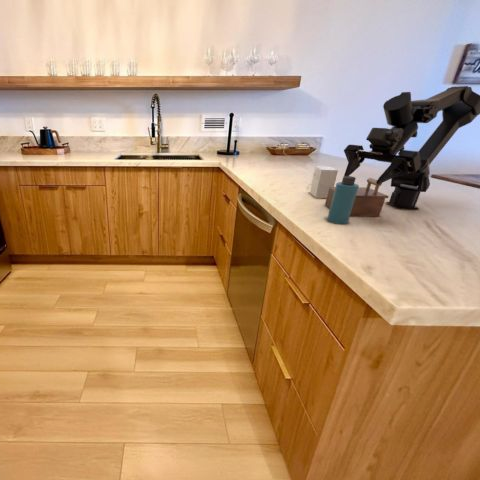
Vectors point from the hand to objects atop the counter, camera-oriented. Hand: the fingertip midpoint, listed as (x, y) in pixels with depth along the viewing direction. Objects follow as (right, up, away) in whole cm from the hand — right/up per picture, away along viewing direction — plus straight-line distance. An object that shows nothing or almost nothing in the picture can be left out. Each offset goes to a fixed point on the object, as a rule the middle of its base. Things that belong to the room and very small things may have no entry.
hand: (360, 179), depth 82 cm
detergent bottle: (-5, -12, +3) cm, 13 cm away
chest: (+5, -8, +11) cm, 15 cm away
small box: (+4, 0, +28) cm, 28 cm away
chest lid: (+5, -2, +9) cm, 11 cm away
